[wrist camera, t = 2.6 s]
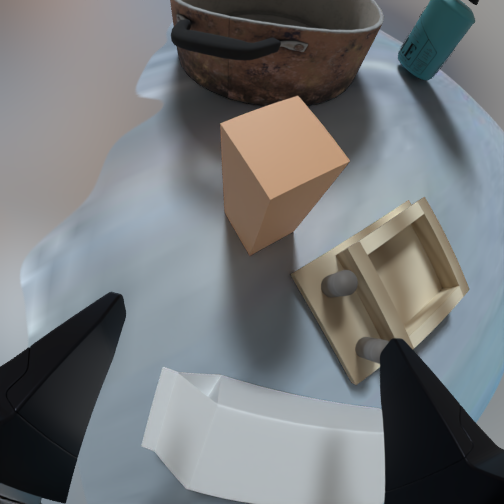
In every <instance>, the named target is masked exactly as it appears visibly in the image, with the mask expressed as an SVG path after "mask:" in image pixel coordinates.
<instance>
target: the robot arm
mask: <svg viewBox="0 0 504 504" xmlns="http://www.w3.org/2000/svg"><path fill="white" fill-rule="evenodd" d="M125 318H126V309H125V304H124V299H123V296H122V295H121V294H119V293H115V292H109V293H108V294H106V295H104V296H103V297H101V298H100V299H98V300H97V301H95V302H94V303H92V304H91V305H89V306H88V307H86V308H85V309H83V310H82V311H80V312H79V313H77V314H76V315H74V316H73V317H71V318H70V319H68V320H67V321H66V322H64V323H63V324H61V325H60V326H58V327H57V328H55V329H54V330H52V331H51V332H50V333H48V334H47V335H45V336H44V337H43V338H41V339H40V340H38V341H37V342H35V343H34V344H33V345H31V346H30V347H28V348H27V349H26V350H24V351H23V352H22V353H20V354H19V355H17V356H16V357H14V358H13V359H11V360H10V361H8V362H7V363H5V364H4V365H2V366H1V367H0V504H41V498H45V499H49V500H52V501H57V502H61V503H66V500H67V496H68V492H69V488H70V484H71V480H72V476H73V473H74V469H75V465H76V462H77V458H78V455H79V451H80V448H81V445H82V442H83V438H84V435H85V432H86V429H87V426H88V423H89V420H90V418H91V415H92V412H93V409H94V406H95V404H96V401H97V398H98V395H99V393H100V390H101V388H102V385H103V382H104V380H105V377H106V375H107V372H108V370H109V367H110V365H111V363H112V360H113V357H114V354H115V351H116V347H117V344H118V341H119V337H120V334H121V331H122V328H123V325H124V321H125ZM380 394H381V406H382V418H383V432H384V452H385V497H384V504H504V450H503V449H501V448H499V447H498V446H497V445H496V444H495V443H494V442H493V441H492V440H491V439H490V438H489V437H488V436H487V435H486V434H485V433H484V431H483V430H482V429H481V428H480V427H479V426H478V425H477V424H476V423H475V422H474V421H473V419H472V418H471V417H470V416H469V415H468V413H467V412H466V411H465V410H464V409H463V407H462V406H461V405H460V404H459V403H458V401H457V400H456V399H455V398H454V396H453V395H452V394H451V393H450V392H449V390H448V389H447V388H446V387H445V386H444V385H443V383H442V382H441V381H440V380H439V379H438V378H437V376H436V375H435V374H434V373H433V372H432V371H431V370H430V368H429V367H428V366H427V365H426V364H425V363H424V362H423V360H422V359H421V358H420V357H419V356H418V355H417V354H416V353H415V352H414V350H413V349H412V348H411V347H410V346H409V345H408V344H407V343H406V342H405V340H403V339H402V338H392V339H391V340H390V341H389V342H388V344H387V345H386V346H385V348H384V349H383V350H382V352H381V354H380Z"/></svg>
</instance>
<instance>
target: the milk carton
mask: <svg viewBox="0 0 504 504" xmlns="http://www.w3.org/2000/svg"><path fill="white" fill-rule="evenodd" d="M142 447H144V448H147V449H149V450H152V451H154V452H155V453H156V454H157V455H158V456H159V458H160V459H161V460H162V461H163V463H164V464H165V465H166V466H167V467H168V469H169V470H170V471H171V472H172V473H173V475H174V476H175V477H176V478H177V479H178V480H179V481H180V482H181V484H182V485H183V486H184V487H185V488H186V489H188V490H192V491H195V492H199V493H203V494H207V495H211V496H215V497H219V498H224V499H229V500H234V501H239V502H245V503H251V504H383V503H384V497H385V452H384V432H383V418H382V410H381V409H379V408H373V407H365V406H357V405H350V404H343V403H337V402H331V401H325V400H320V399H314V398H309V397H304V396H300V395H295V394H290V393H286V392H282V391H278V390H273V389H269V388H266V387H262V386H258V385H254V384H251V383H247V382H243V381H240V380H237V379H233V378H230V377H226V376H223V375H219V374H197V373H182V372H176V371H174V370H171V369H168V368H166V367H163V368H162V371H161V375H160V378H159V382H158V385H157V389H156V392H155V396H154V400H153V403H152V407H151V411H150V414H149V418H148V422H147V426H146V430H145V434H144V438H143V442H142Z"/></svg>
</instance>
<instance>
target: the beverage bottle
mask: <svg viewBox="0 0 504 504" xmlns="http://www.w3.org/2000/svg"><path fill="white" fill-rule="evenodd" d="M469 1H470V2H472V3H473V4H475V5H477V4H478V1H479V0H469ZM474 23H475V18H474V15H473V12H472V11H471V9H470V8H469V7H468V6H467V5H465V4H464V3H463V2H462V1H460V0H430V2H429V4H428V6H427V7H426V9H425V10H424V12H423V13H422V14H421V17H420V18H419V20H418V22H417V23H416V25H415V27H414V28H413V30H412V32H411V33H410V35H409V37H408V38H407V40H406V42H405V43H404V44H402V46H401V50H400V51H399V53H398V59H399V61H400V63H401V64H402V65H403V66H404V67H405V68H406V69H407V70H408V71H409V72H410V73H412V74H413V75H415V76H416V77H418V78H420V79H423V80H429V79H432V77H433V76H435V74H437V72H438V71H439V68H440V67H441V66H442V64H443V63H444V62H445V61H446V59H447V58H448V57H449V55H450V54H451V53H452V51H453V50H454V48H455V47H456V45H457V44H458V43H459V42H460V40H461V39H462V38H463V36H464V35H465V34H466V33H467V31H468V30H469V29H470V27H471V26H472V24H474ZM440 69H441V68H440Z"/></svg>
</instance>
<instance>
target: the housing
mask: <svg viewBox="0 0 504 504" xmlns="http://www.w3.org/2000/svg"><path fill="white" fill-rule="evenodd" d="M290 275H291V277H292V278H293V280H294V282H295V283H296V285H297V287H298V289H299V290H300V292H301V294H302V296H303V297H304V299H305V301H306V302H307V304H308V306H309V308H310V309H311V311H312V313H313V315H314V316H315V318H316V320H317V322H318V324H319V325H320V327H321V329H322V331H323V332H324V334H325V336H326V338H327V339H328V341H329V343H330V345H331V347H332V348H333V350H334V352H335V354H336V356H337V357H338V359H339V361H340V363H341V365H342V366H343V368H344V370H345V372H346V374H347V376H348V377H349V379H350V381H351V383H353V384H355V385H357V384H359V383H360V382H361V381H363V380H364V379H365V378H367V377H368V376H369V375H371V374H372V373H373V372H374V371H376V370H377V369H378V368H379V367H380V354H381V352H382V350H383V349H384V348H385V346H386V345H387V344H388V342H389V341H390V340H391V339H392V338H402V339H403V340H405V342H406V343H407V344H408V345H409V346H410V347H411V348H412V349H414V348H415V347H416V346H417V345H418V344H419V343H420V342H421V341H422V340H423V339H424V338H425V337H426V336H428V335H429V334H430V333H431V332H432V331H433V330H434V329H435V327H436V326H437V325H438V324H439V323H440V322H441V321H442V320H443V319H444V318H445V317H446V316H447V315H448V314H449V313H450V312H451V310H452V309H453V308H454V307H455V306H456V305H457V304H458V303H459V301H460V300H461V299H462V298H463V297H464V296H465V294H466V293H467V292H468V291H469V287H468V284H467V282H466V279H465V277H464V274H463V272H462V270H461V267H460V265H459V263H458V260H457V258H456V256H455V254H454V252H453V250H452V247H451V245H450V243H449V241H448V239H447V237H446V235H445V233H444V231H443V229H442V227H441V225H440V223H439V222H438V220H437V218H436V216H435V214H434V212H433V211H432V209H431V207H430V205H429V204H428V202H427V200H426V198H425V197H423V198H422V199H420V200H419V201H417V202H415V203H414V204H412V205H411V203H410V201H409V200H408V201H406V202H405V203H403V204H402V205H400V206H399V207H397V208H396V209H394V210H393V211H391V212H390V213H388V214H387V215H385V216H383V217H382V218H380V219H379V220H377V221H376V222H374V223H373V224H371V225H370V226H368V227H366V228H365V229H363V230H362V231H360V232H359V233H357V234H355V235H354V236H352V237H351V238H349V239H348V240H346V241H344V242H343V243H341V244H340V245H338V246H336V247H335V248H333V249H331V250H330V251H328V252H327V253H325V254H323V255H322V256H320V257H318V258H317V259H315V260H313V261H312V262H310V263H308V264H307V265H305V266H303V267H302V268H300V269H298V270H297V271H295V272H293V273H292V274H290Z"/></svg>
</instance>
